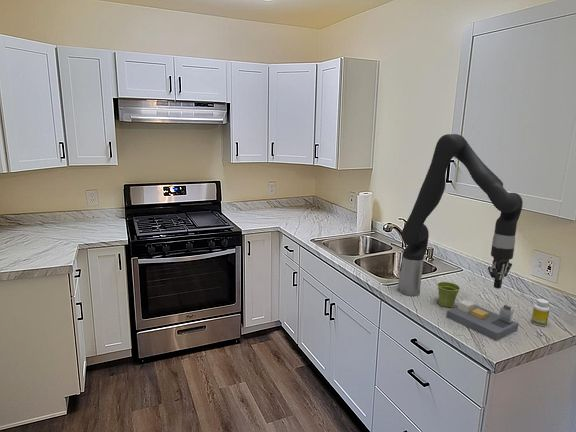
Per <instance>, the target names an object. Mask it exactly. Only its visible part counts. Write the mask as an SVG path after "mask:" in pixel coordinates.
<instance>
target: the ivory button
mask: <svg viewBox="0 0 576 432" xmlns="http://www.w3.org/2000/svg"><path fill="white" fill-rule="evenodd" d="M475 305H476V304H475V303H474V302H471V301H470V300H467V299H463V300H460V301H458V304H457V307H458V309H459V310H461V311H463V312H465V313H471V312H472V311H473V310H474V308H475Z"/></svg>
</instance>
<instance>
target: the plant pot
mask: <svg viewBox="0 0 576 432" xmlns="http://www.w3.org/2000/svg"><path fill="white" fill-rule="evenodd" d="M436 286H437V289H438V304H439V305H440V306H442V307H447V308H452V307H453V308H454V305H455V302H456V299H457V294H458V293H459V291H460V290H461V287H460V285H458V284H457V283H454V282H449V281H440V282H438V283H437V284H436Z"/></svg>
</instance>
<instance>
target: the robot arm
mask: <svg viewBox="0 0 576 432" xmlns="http://www.w3.org/2000/svg"><path fill="white" fill-rule="evenodd" d="M433 151H434V152H433V155H432V159H431V161H430V162H431V163H430V164H429V165H430V166H429V168H428V170H427V173H426V175H425V178H424V181H423V183H422V185H421V187H420V189H419V192H418V195H417V198H416V200H415V203H414V205H413V208H412V210H411V212H410V215H409V216H408V218H407V220H406V222H405V224H404V226H403V227H402V231H401V239H402V241H403V243H404V244H405V245H407V246H406V248H405V249H403V252H402V259H401V260H402V262H401V270H399V273H398V281H397V282H398V283H397V291H399V293H401V294H402V295H404V296H409V297H417V296H419V295H420V293H421V284H422V276H423V267H424V260H425V259H424V258H425V257H424V256H425V255H426V253H427V250H428V244H429V243H428V242H429V236H430V234H429V229H428V227H427V226H426V224H425V222H426V220H427V218H428V217H429V216H430V215H431V214H432V212H433V211H434V210H435V209H436V208H437V206H438V205H439V203H440V201H441V200H442V197H443V195H444V193H445V190H446V184H447V183H446V178H447V177H446V176H447V170H448V168H449V166H450V162H452V159H453V158H455V159H456V160H458V161H459V162H460V163H462V164H463V166H465V168H466V169H467V171H468V173H469V175H470V177H471V179H472V180H473V181H474V183H475V184H476V185H477V186H478V187H479V188H480V189H481V190H482V191H483V192H484V193H485V194H486V195H487V197H488V199H489V200H490V202H491V204H492V205H493V206H494V208H496V209H497V211H499V212H500V215H499V217H498V218H497V219H496V221H495V226H494V232H493V237H492V241H491V242H492V243H491V250H490V256H491V257H492V258H493V260H492V264H491V266H488V267H487V270H488V272H489V274H490V277H491V278H493V279H494V280H493V288H495V289H497V290H499V289H501V288H502V284H503V280H504V278H507V276H508V273H509V272H510V270H511V268H512V266H513V263H511V262H510V260H512V259H513V258H514V252H515V245H516V233H517V226H518V225H517V224H518V221H519V219H520V216H521V214H522V213H521V212H522V209H523V203H524V202H523V198H522V196H521V195H520V194H519V193H517V192H508V191H507V190H506V188H504V183H503V181H502V180H501V179H500V178H499V176H497V175H496V174H495V173H494V172H493V171H492V170H491V169H490V168H489V167H488V166H487V165H486V164H485V163H484V162H483V161H482V160H481V158H480V157H479V156H478V155H477V154H476V152H475V151H474V150H473V148H472V147H471V145H470V144H469V142H468V141H467V140H466V138H465V137H464V136H462V135H461V134H458V133H457V134H456V133H453V134H452V133H448V134H444V135H442V136H441V137H440V138H439V139H438V141H437V143H436V145H435V148H434V150H433Z"/></svg>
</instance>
